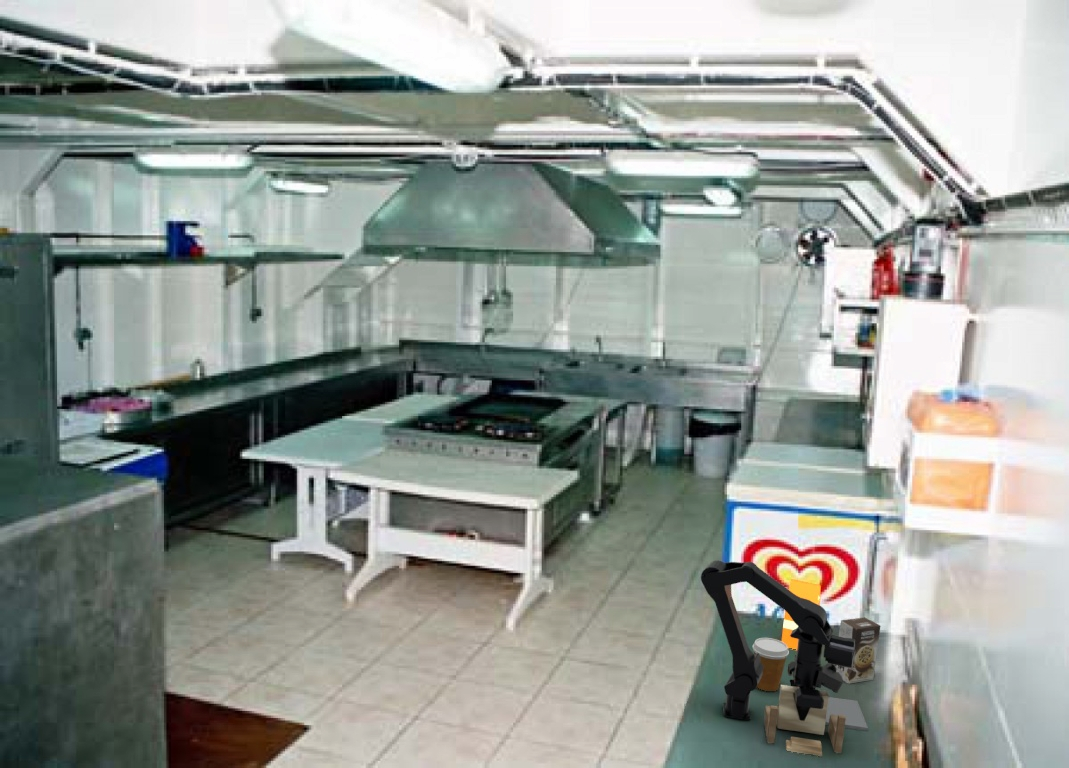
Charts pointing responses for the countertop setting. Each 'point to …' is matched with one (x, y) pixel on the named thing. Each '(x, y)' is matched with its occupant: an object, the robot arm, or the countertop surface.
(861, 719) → the rubber mat
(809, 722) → the cream flat block
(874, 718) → the countertop surface
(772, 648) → the disposable coffee cup
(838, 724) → the light wood rack
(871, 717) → the countertop surface
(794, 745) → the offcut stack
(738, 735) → the countertop surface
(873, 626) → the cookie box
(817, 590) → the orange juice
